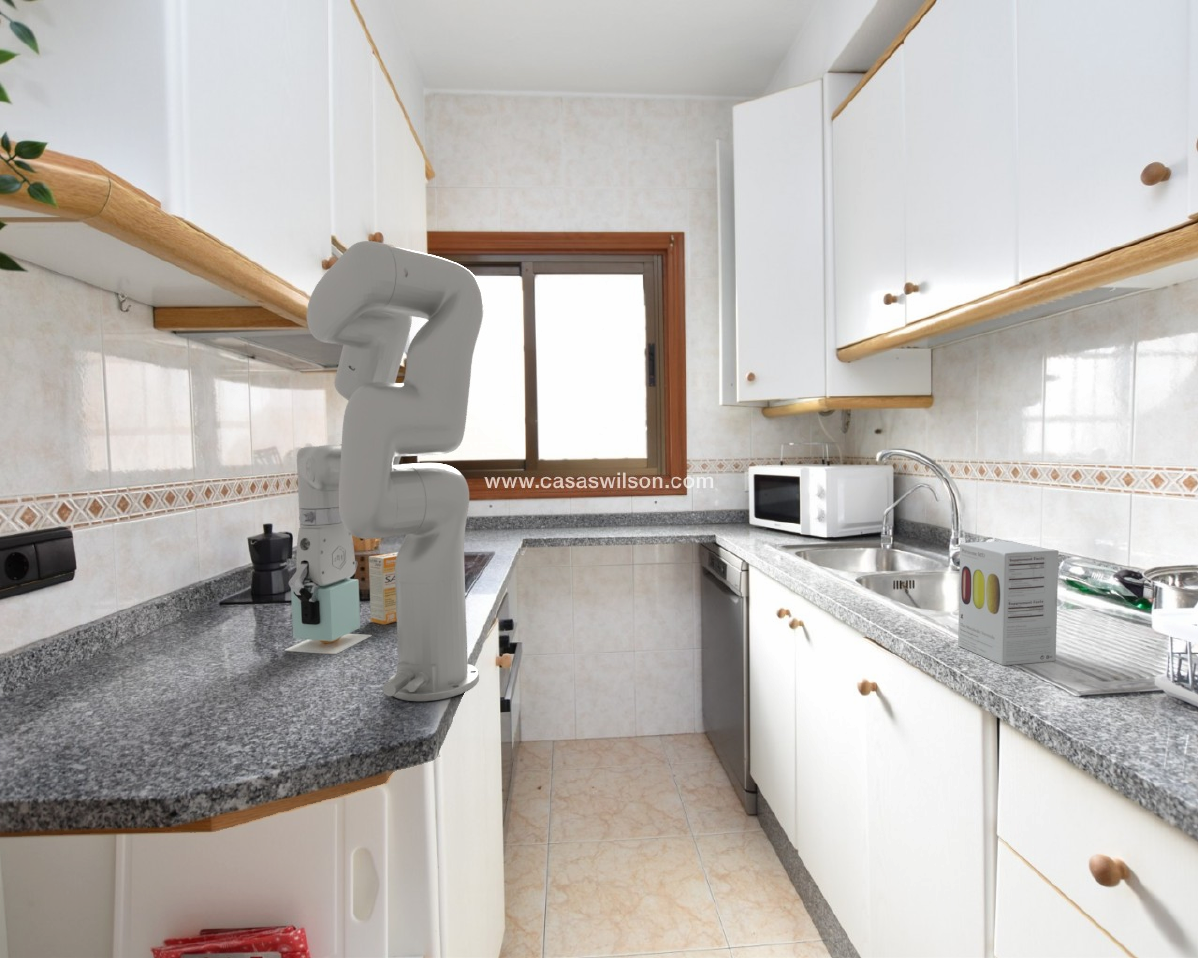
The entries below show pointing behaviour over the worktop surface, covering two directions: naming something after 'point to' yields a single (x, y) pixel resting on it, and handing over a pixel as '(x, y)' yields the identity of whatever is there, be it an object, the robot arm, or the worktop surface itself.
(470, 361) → the robot arm
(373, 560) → the supplement box
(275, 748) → the worktop surface
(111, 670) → the worktop surface
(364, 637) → the tape square
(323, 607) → the mint foam cube
